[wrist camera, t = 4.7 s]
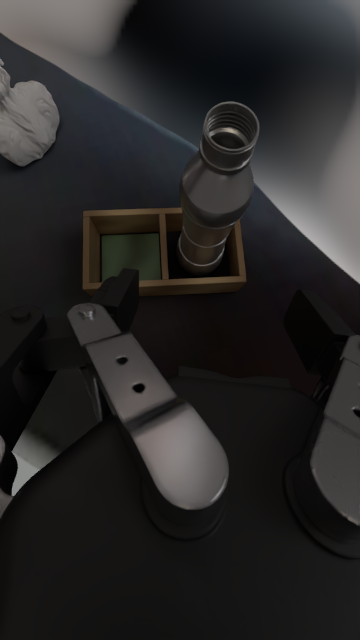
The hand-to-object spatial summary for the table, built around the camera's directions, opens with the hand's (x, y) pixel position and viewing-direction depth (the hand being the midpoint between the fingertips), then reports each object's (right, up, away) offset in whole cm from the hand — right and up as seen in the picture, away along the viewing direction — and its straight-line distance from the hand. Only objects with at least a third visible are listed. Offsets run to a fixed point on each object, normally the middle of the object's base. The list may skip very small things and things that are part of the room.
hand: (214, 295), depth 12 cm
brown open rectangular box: (-4, +8, +22) cm, 24 cm away
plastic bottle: (+1, +8, +23) cm, 24 cm away
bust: (-25, +27, +25) cm, 44 cm away
